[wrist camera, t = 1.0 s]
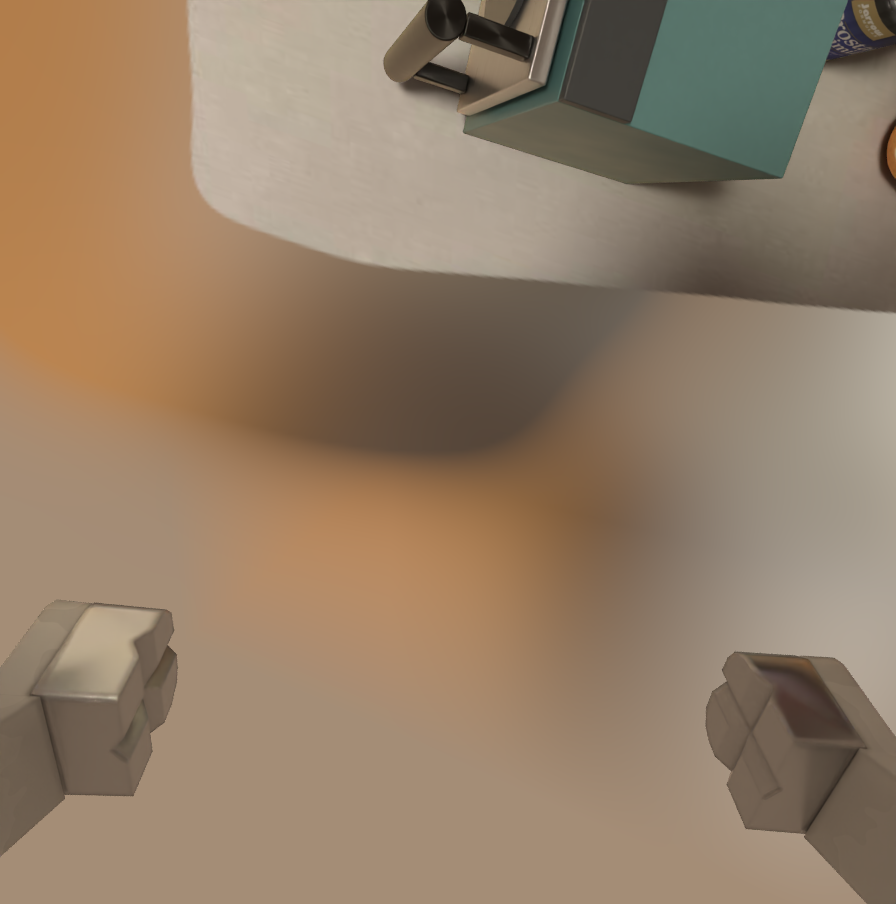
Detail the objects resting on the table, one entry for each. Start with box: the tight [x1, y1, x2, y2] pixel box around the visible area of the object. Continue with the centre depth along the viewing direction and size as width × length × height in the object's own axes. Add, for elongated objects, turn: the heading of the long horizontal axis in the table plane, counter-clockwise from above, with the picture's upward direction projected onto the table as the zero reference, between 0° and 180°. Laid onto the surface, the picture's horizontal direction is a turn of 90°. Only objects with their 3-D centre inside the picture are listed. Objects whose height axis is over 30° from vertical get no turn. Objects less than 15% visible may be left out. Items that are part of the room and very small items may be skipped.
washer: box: [463, 0, 848, 184], centre depth 31 cm, size 11×11×15 cm
